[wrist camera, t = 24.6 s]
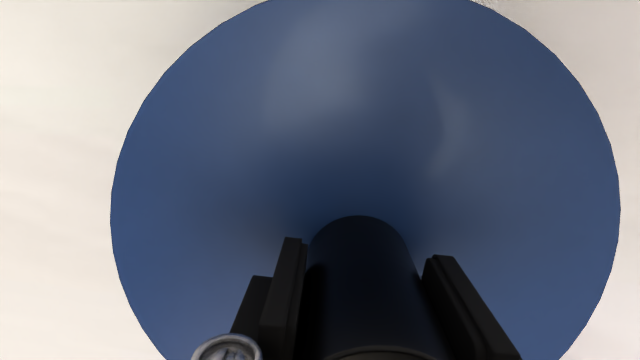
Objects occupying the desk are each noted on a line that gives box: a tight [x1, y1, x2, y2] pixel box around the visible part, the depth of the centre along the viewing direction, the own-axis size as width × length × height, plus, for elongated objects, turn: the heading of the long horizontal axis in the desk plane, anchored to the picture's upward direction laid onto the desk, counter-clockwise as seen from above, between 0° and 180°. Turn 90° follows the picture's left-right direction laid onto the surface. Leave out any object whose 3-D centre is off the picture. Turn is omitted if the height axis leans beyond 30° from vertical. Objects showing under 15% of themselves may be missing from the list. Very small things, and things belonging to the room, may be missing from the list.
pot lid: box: [110, 0, 621, 360], centre depth 10 cm, size 18×18×7 cm
